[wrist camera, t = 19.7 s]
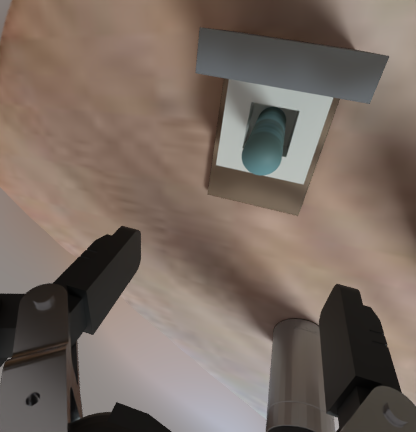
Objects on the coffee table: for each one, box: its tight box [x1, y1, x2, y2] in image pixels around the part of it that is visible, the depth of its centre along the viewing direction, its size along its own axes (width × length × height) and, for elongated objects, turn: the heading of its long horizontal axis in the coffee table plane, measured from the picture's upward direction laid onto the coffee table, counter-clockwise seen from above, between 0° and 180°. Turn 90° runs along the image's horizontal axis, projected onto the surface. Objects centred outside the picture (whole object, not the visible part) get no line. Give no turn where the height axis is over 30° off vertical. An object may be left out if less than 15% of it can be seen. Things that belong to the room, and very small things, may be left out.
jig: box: [196, 27, 389, 216], centre depth 31 cm, size 20×13×13 cm, turn 172°
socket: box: [216, 79, 333, 184], centre depth 32 cm, size 10×10×5 cm
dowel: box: [242, 107, 286, 175], centre depth 28 cm, size 3×3×12 cm
